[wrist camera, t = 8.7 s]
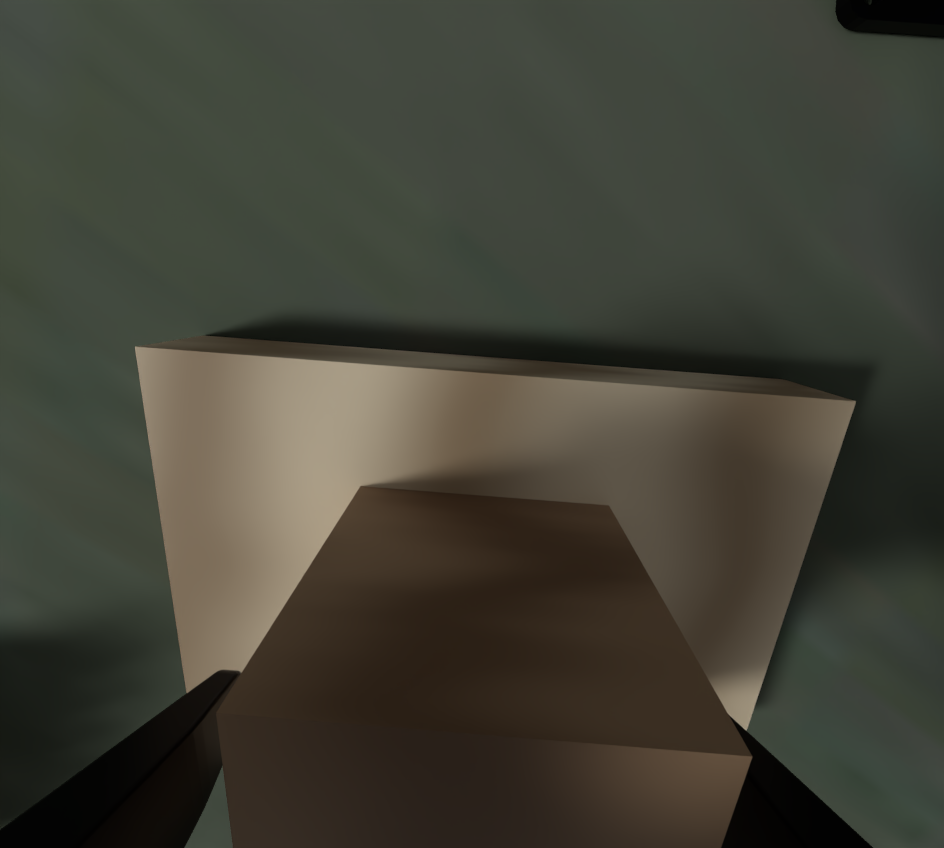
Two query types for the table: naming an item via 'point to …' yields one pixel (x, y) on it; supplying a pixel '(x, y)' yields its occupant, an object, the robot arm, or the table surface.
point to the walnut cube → (477, 691)
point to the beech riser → (482, 476)
